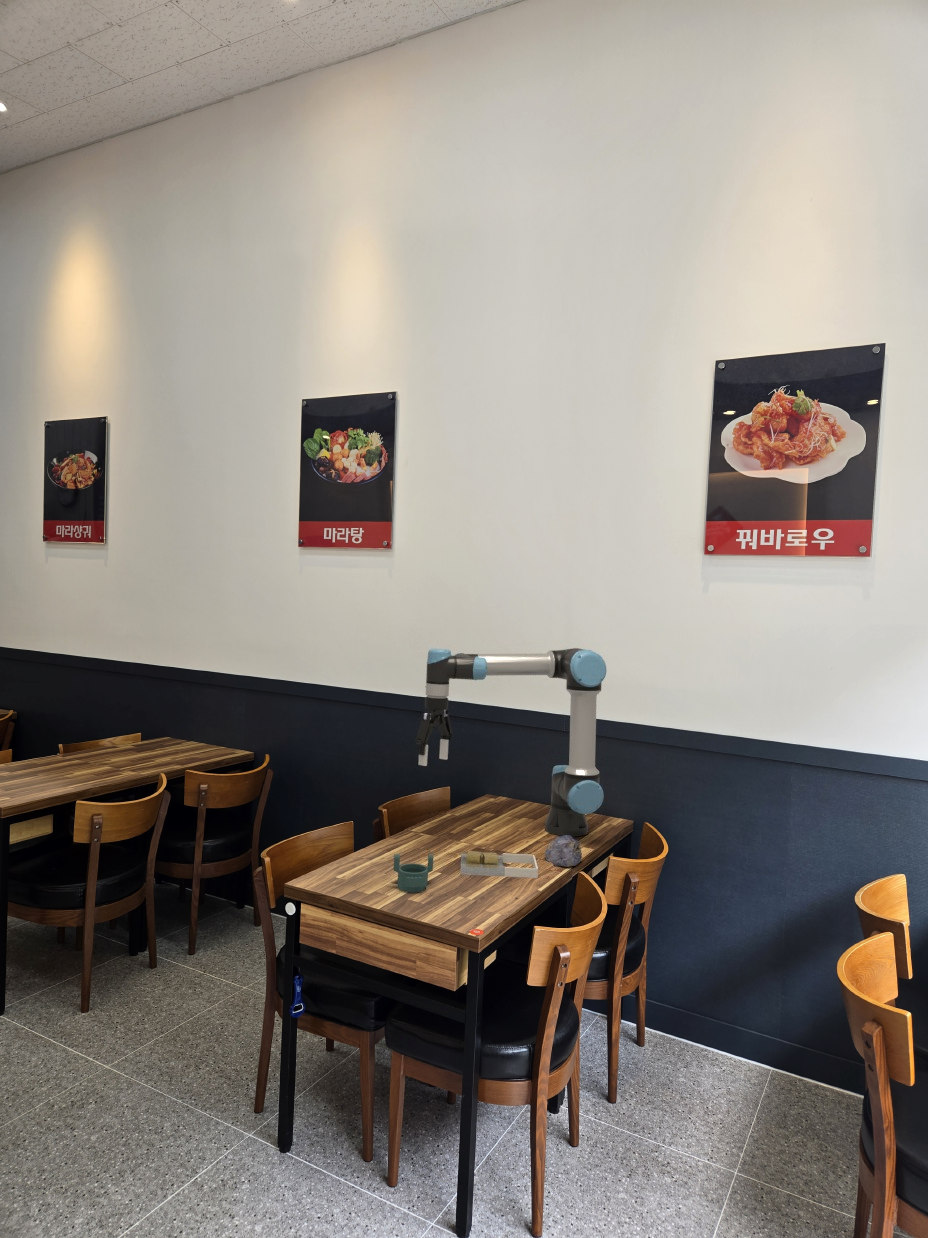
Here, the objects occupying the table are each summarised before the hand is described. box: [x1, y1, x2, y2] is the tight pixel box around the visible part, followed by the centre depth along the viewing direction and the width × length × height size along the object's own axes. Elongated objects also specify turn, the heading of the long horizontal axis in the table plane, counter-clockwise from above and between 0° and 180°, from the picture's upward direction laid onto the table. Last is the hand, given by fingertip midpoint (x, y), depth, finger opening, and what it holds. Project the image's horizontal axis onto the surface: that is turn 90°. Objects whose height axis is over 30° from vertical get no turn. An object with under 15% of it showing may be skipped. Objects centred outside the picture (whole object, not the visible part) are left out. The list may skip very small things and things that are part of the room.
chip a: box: [482, 852, 498, 865], centre depth 228 cm, size 4×4×4 cm
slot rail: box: [460, 852, 506, 877], centre depth 228 cm, size 12×13×3 cm
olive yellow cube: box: [466, 850, 483, 864], centre depth 228 cm, size 4×4×4 cm
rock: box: [544, 835, 583, 867], centre depth 239 cm, size 11×10×10 cm
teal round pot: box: [393, 853, 434, 894], centre depth 212 cm, size 9×9×9 cm
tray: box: [502, 852, 539, 879], centre depth 228 cm, size 10×13×4 cm
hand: (433, 762), depth 252 cm, fingers open, 13 cm apart
